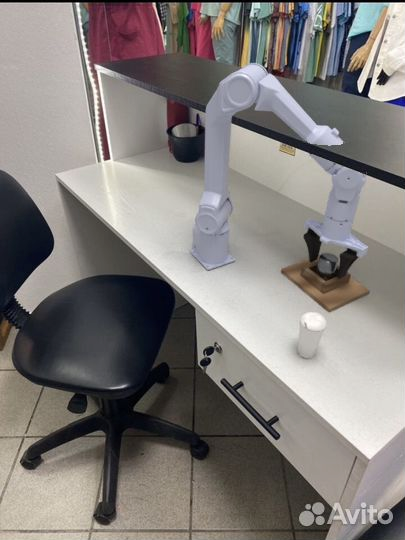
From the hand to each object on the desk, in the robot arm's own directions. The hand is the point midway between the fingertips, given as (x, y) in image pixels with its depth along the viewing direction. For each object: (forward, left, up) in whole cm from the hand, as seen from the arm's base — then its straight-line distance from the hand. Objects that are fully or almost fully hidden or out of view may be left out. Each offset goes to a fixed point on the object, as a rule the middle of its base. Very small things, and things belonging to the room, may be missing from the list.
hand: (326, 268), depth 87 cm
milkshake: (+14, -18, -4) cm, 23 cm away
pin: (0, 0, -3) cm, 3 cm away
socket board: (0, 0, -4) cm, 4 cm away
